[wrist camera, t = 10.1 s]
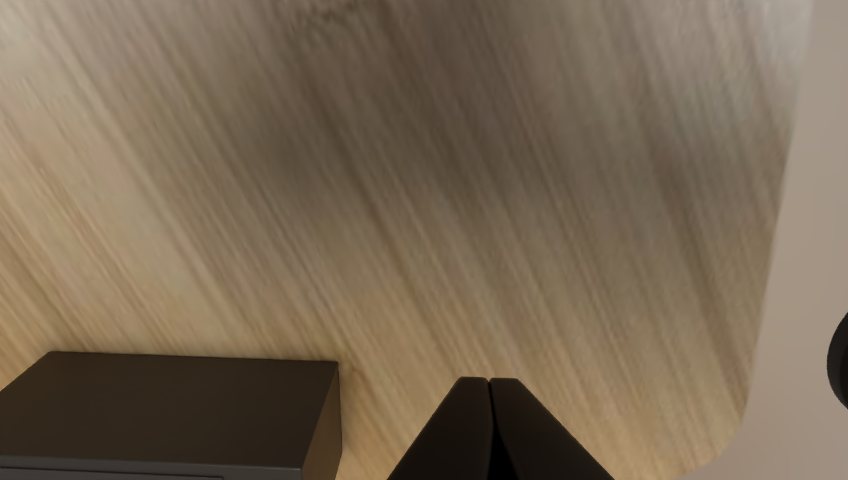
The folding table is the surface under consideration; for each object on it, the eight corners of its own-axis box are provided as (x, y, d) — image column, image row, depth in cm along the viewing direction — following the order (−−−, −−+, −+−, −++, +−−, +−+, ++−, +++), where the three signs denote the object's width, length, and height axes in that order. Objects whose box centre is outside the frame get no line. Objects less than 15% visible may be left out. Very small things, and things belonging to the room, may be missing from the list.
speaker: (301, 470, 18) (-78, 453, 18) (309, 578, 20) (-39, 560, 20) (338, 361, 24) (48, 351, 24) (342, 452, 25) (70, 440, 26)
